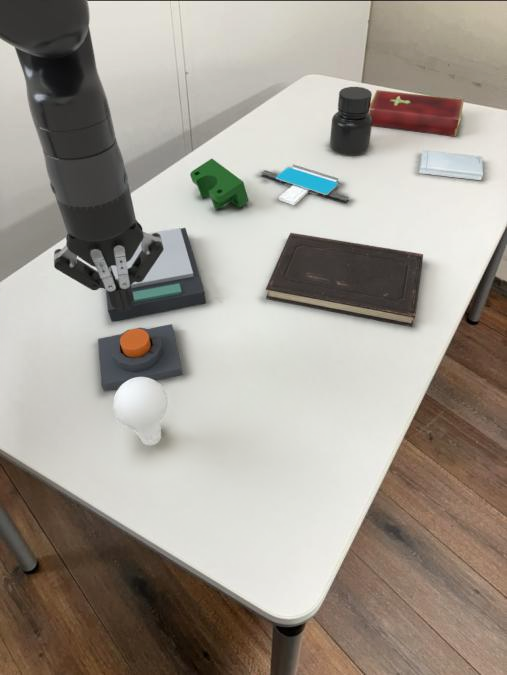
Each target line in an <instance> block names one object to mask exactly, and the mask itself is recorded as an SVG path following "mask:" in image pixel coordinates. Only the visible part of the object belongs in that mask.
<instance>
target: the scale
mask: <svg viewBox="0 0 507 675" xmlns="http://www.w3.org/2000/svg"><path fill="white" fill-rule="evenodd" d="M154 233H158V234H160V236H161V240H162V244H163V248H164V249H163V252H162V253H161V255H160V256H159V258H158V259H157V260H156V262H155V263H154V265H153V266H152V268H151V269H150V271H149V272H148V274H147V275H146V277H145V278H144V280H143V281H142V282H134V283H133V284H132V285H131V287H132V292H133V296H134V305H131V306H130V310H126V311H120V312H119V310H118V308H113V307H112V305H111V302H110V298H109V295H108V292H107V290H106V289H105V296H106V305H107V312H108V315H109V319H110V321H111V322H116V321H122V320H126V319H127V320H128V319H132V318H137V317H141V316H147V315H152V314H157V313H163V312H167V311H168V312H169V311H172V310H178V309H182V308H183V309H184V308H188V307H194V306H199V305H203V304H207V300H206V292H205V289H204V285H203V282H202V278H201V275H200V272H199V268H198V265H197V262H196V259H195V255H194V251H193V249H192V244H191V241H190V239H189V235H188V232H187V229H186V227H182V228H181V227H177V228H171V229H165V230H160V231H154V232H148V234H150V235H152V234H154ZM141 250H142V247H141V243H140V245H139V247H138V248H137V250H136V252H135V253H134V255H133V257H132V258H131V260H129V261H128V262H127V269H128V268H130V267H132V264H133V263H134V261H135V260H136V258H137V257H138V255H139V253H140V252H141ZM111 267H112V270H113V273H114V276H115V279H118V273H117V267H116V266H111ZM124 310H125V309H124Z"/></svg>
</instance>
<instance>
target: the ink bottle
mask: <svg viewBox="0 0 507 675" xmlns="http://www.w3.org/2000/svg"><path fill="white" fill-rule="evenodd" d="M372 96H373V93H372V90H370V89H368V88H366V87H362V86H348V87H344V88H342V89H340V90H339V92H338V101H337V112H336V113H334V114H333V116H332V117H331V124H330V125H331V126H330V137H329V147H330V149H331V150H332V151H333V152H334V153H336V154H339V155H342V156H357V155H358V156H360V155H362V154H365V153H366V152H367V151H368V149H369V148H370V142H371V135H372V128H373V126H372V122H373V121H372V117H371V116H370V114H369V113H368V112H369V108H370V104H371V102H372Z"/></svg>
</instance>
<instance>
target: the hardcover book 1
mask: <svg viewBox="0 0 507 675" xmlns="http://www.w3.org/2000/svg"><path fill="white" fill-rule="evenodd" d="M423 261H424V253H418V252H412V251H407V250H400V249H394V248H388V247H383V246H381V247H380V246H375V245H370V244H369V245H368V244H363V243H357V242H352V241H351V242H350V241H344V240H339V239H333V238H327V237H321V236H320V237H319V236H313V235H306V234H302V233H295V232H290V233H289V235H288V237H287V239H286V242H285V244H284V246H283V249H282V251H281V253H280V255H279V257H278V260H277V262H276V265H275V267H274V269H273V270H272V273H271V276H270V279H269V281H268V283H267V285H266V288H265V291H268V292H267V294H266V296H265V299H266V300H272V301H275V302H276V301H277V302H282V303H287V304H293V305H296V306H297V305H298V306H302V307H308V308H313V309H318V310H324V311H328V312H334V313H339V314H344V315H350V316H353V317H358V318H365V319H370V320H375V321H380V322H386V323H391V324H396V325H402V326H406V327H411V328H413V326H414V319H415V318H416V312H417V304H418V300H419V299H418V298H419V290H420V282H421V275H422V267H423Z"/></svg>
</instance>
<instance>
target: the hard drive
mask: <svg viewBox="0 0 507 675" xmlns="http://www.w3.org/2000/svg"><path fill="white" fill-rule="evenodd" d="M419 163H420V164H419V171H418V172H419V174H422V175H423V174H424V175H433V176H440V177H448V178H449V177H450V178H458V179H466V180H475V181H482V179H483V176H484V167H483V166H484V164H483V156H481V155H473V154H466V153H465V154H464V153H458V152H457V153H455V152H446V151H439V150H438V151H437V150H426V149H423V150H422V152H421V157H420V162H419Z"/></svg>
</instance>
